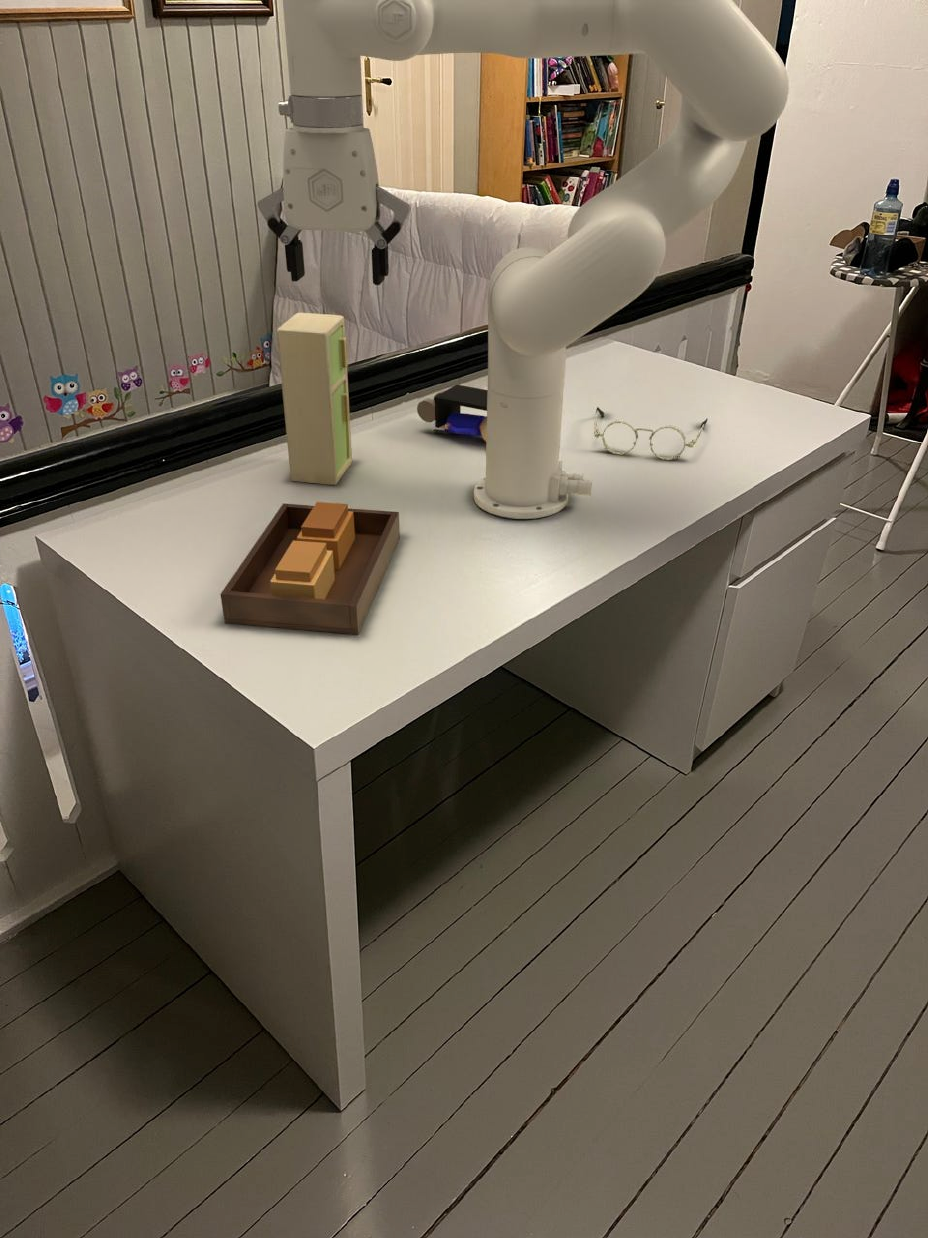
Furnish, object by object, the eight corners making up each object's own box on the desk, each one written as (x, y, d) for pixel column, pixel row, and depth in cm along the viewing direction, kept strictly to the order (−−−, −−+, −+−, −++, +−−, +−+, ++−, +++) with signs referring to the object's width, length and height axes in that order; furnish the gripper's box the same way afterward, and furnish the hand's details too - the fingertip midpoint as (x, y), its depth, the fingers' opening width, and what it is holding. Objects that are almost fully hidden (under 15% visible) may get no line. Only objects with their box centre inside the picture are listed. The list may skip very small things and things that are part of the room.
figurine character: (417, 442, 145) (500, 454, 138) (411, 394, 142) (496, 403, 134) (442, 428, 150) (523, 439, 142) (437, 381, 146) (520, 389, 138)
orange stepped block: (355, 539, 115) (352, 502, 112) (339, 569, 109) (336, 531, 106) (317, 536, 116) (313, 499, 113) (299, 566, 109) (295, 528, 107)
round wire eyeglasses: (583, 450, 140) (585, 418, 137) (599, 414, 152) (601, 384, 149) (700, 464, 136) (705, 431, 133) (706, 425, 148) (711, 395, 145)
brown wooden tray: (399, 537, 117) (399, 511, 115) (358, 634, 99) (356, 605, 97) (285, 528, 118) (283, 503, 116) (224, 622, 100) (220, 594, 98)
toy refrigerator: (341, 486, 129) (330, 332, 117) (290, 481, 130) (274, 328, 118) (358, 463, 135) (349, 315, 124) (309, 458, 136) (296, 311, 125)
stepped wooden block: (335, 579, 107) (331, 541, 104) (316, 615, 101) (313, 575, 98) (294, 576, 107) (290, 537, 105) (273, 611, 101) (268, 571, 99)
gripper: (237, 115, 98) (256, 285, 108) (400, 119, 96) (405, 292, 106) (260, 109, 104) (276, 269, 114) (414, 112, 102) (417, 275, 112)
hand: (338, 280), depth 110 cm, fingers open, 9 cm apart
